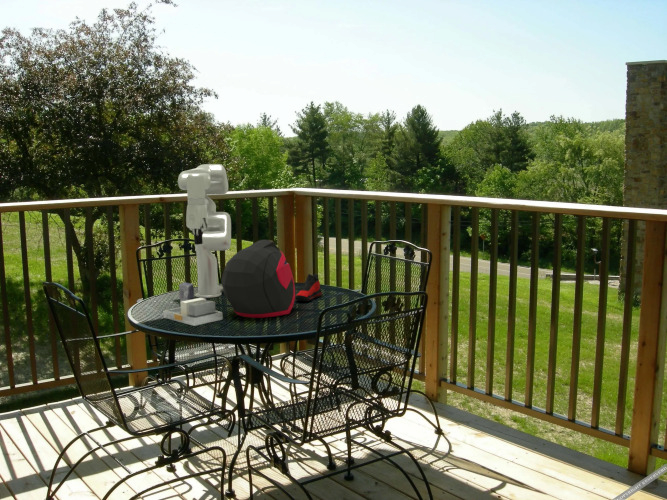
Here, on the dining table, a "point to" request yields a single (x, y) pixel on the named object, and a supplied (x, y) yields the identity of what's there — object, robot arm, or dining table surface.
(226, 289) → the helmet
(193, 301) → the off-white rectangular block
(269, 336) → the dining table surface
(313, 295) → the athletic shoe
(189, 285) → the rock
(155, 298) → the dining table surface
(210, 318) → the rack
